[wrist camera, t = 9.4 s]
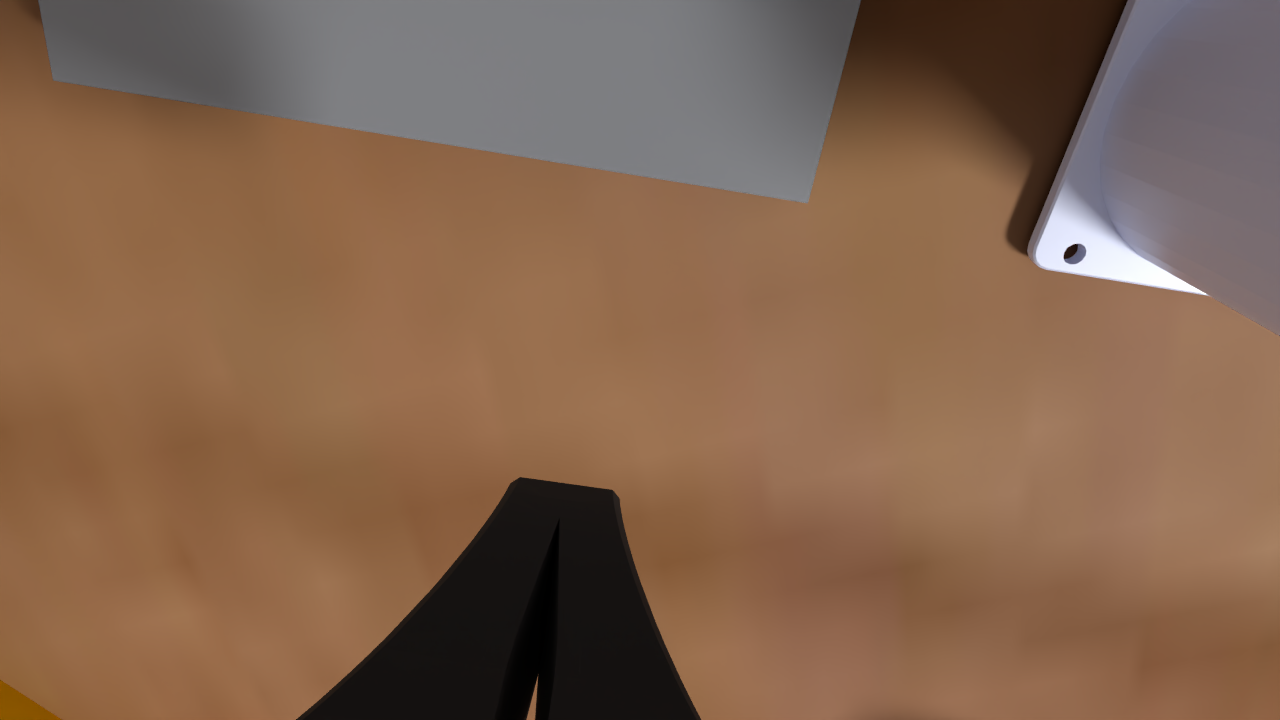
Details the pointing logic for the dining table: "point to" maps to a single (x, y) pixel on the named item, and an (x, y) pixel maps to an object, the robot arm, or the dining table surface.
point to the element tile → (20, 706)
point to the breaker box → (498, 74)
